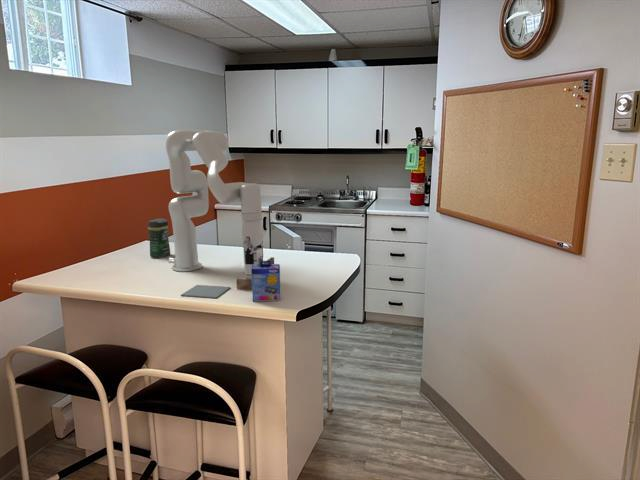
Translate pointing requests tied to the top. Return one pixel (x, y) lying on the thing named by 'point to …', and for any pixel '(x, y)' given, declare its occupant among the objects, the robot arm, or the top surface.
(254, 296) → the ink cartridge box
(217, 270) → the top surface
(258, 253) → the syrup box
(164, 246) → the coffee jar
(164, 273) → the top surface
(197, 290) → the grey mat
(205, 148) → the robot arm
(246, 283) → the stair flight
